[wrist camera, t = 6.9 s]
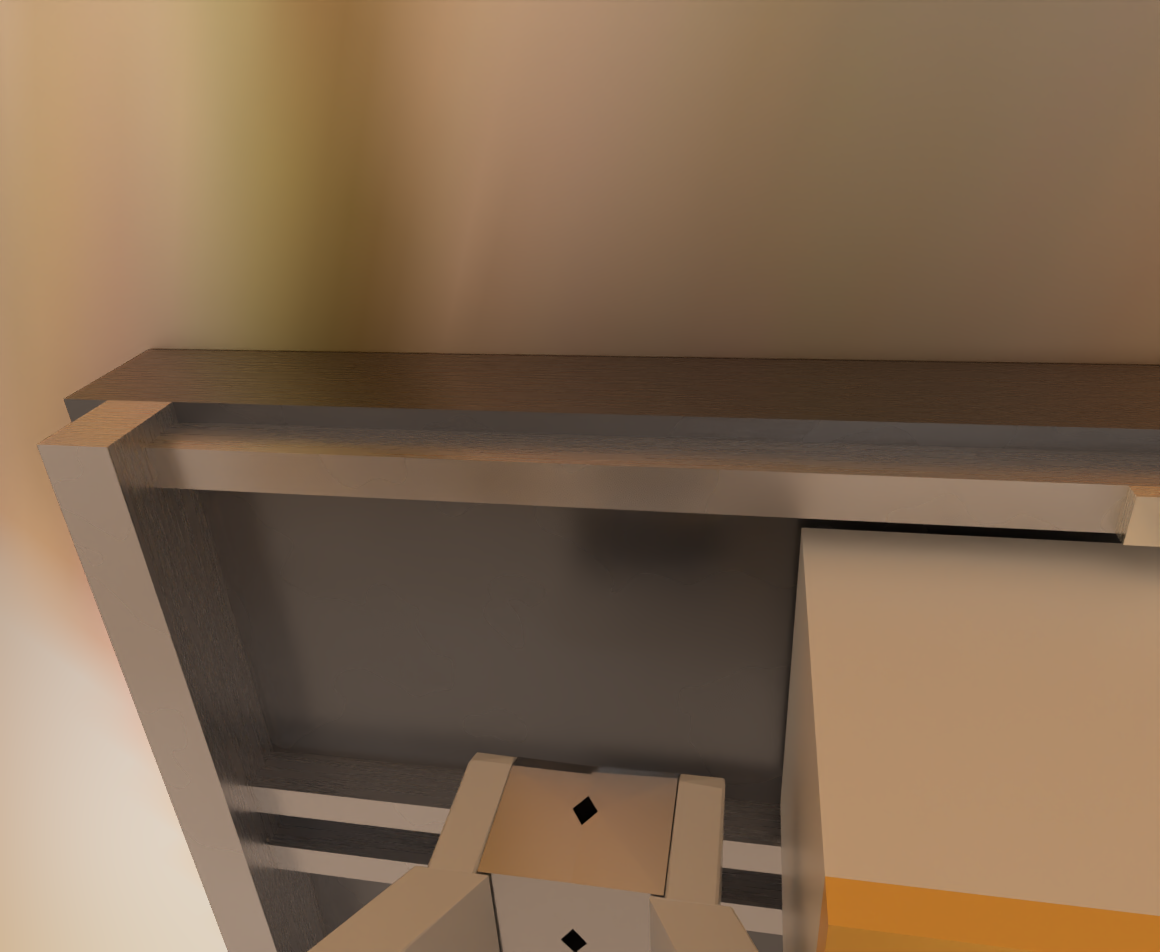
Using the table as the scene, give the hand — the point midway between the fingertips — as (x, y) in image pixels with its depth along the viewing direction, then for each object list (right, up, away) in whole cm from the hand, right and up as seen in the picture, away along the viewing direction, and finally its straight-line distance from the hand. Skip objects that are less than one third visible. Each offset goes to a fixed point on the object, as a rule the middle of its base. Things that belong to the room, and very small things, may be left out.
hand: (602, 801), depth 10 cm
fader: (+5, +1, +1) cm, 5 cm away
